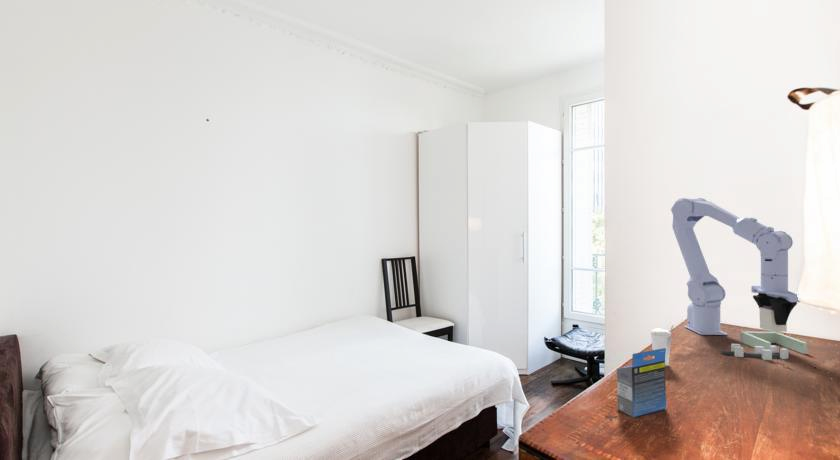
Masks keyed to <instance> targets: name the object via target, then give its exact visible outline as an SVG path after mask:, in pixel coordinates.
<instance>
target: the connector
mask: <svg viewBox="0 0 840 460" xmlns="http://www.w3.org/2000/svg"><path fill="white" fill-rule="evenodd" d="M758 308H760V309H759V328H760V329H762V330H765V331H766V332H778V333H783V332H784V333H785V332H788V329H787V328H788V326H787V325H788V324H787V323H786V325H776V323H775V318H774V310H773V307H772V305H767V306H763V307H759V306H758Z"/></svg>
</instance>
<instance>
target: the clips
mask: <svg viewBox="0 0 840 460" xmlns="http://www.w3.org/2000/svg"><path fill="white" fill-rule="evenodd" d="M730 347H731V349H730V351H734V355H733V356H734V357H736V358H744V357H745V356H744V352H745V351H744V347H743V346H741V344H739V343H731V345H730ZM779 352H780V357H779V358H780V359H781V360H787V359H789V355H788V352H789V348H787V347H783V348H782V347H781V348H779ZM754 353H756V354H762V358H761V360H764V361H772V360H773V358H772V353H778V346H777V345H772V344H771V346H769V350H764V347H762V346H755V348H754Z"/></svg>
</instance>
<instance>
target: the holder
mask: <svg viewBox="0 0 840 460" xmlns="http://www.w3.org/2000/svg"><path fill="white" fill-rule="evenodd" d="M739 342H740V343H742V344H744V345H747V346H749V347H752V348H753V349H755V346H762V347H764V350H769V346H771V345H772V344H776V345H777V344H778V345H779V346H782V347H783V348H786V349H788V350H789V349H790V350H792V351H794V352H797V353H800V354H802V355H808V342H806V341H803V340H801V339H797V338H794V337H792V336H789V335H786V334H783V333H782V332H770V331H739Z"/></svg>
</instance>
